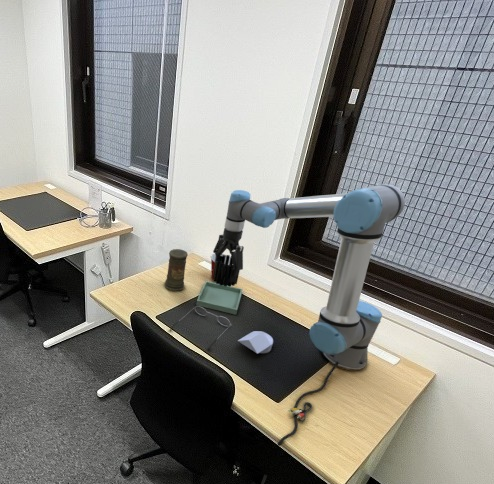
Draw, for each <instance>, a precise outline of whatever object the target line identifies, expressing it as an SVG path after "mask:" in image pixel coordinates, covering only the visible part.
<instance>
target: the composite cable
mask: <svg viewBox="0 0 494 484" xmlns="http://www.w3.org/2000/svg"><path fill="white" fill-rule="evenodd" d="M307 406H308V408H307ZM312 408H313V405H312V403H311V402H308V401H306V402H305V403H303V409H302V408H298V407H297V408H294V407H293V408H290V409H289V410H288V412H291V414H292V417H293V418H294V415H293V414H295V415H296V417H297V421H299V422H300V423H304V422H305V421H306V416H307V415H306V414H307V413H308V412H309V411H311V410H312ZM303 417H304V418H303Z"/></svg>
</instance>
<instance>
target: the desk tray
mask: <svg viewBox="0 0 494 484" xmlns="http://www.w3.org/2000/svg"><path fill="white" fill-rule="evenodd" d="M243 290H244V289H243V288H239V287H235V286H232V285H231V286H224V285H222V286H221V285H219V284H216V282H214V281H213V282H212V281H208V280H205V282H204V283H203V286H202V287H201V290H200V292H199V294H198V297H197V298H196V303H195V306H200V307H203V308H205V309H211V310H214V311H218V312H223V313H227V314H231V315H237V314H238V309H239V305H240V303H241V302H240V301H241V299H242V294H243Z"/></svg>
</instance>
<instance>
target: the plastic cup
mask: <svg viewBox="0 0 494 484" xmlns="http://www.w3.org/2000/svg"><path fill="white" fill-rule="evenodd" d="M223 255H226V256H227V255H228V254H225V253H222V255H220V256H223ZM215 258H216V255H215V253H211V255H210V260H211V261H210V263H211V266H210V267H211V268H210V269H211V270H210V271H211V273H210V274H211V280H212V281H213V282H214V280H213V274H214V266H215ZM230 258H231V256H230ZM230 258H229V263H230ZM225 262H226V257H225ZM229 263H228V265H229ZM224 264H225V263H224Z"/></svg>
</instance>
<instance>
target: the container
mask: <svg viewBox="0 0 494 484" xmlns="http://www.w3.org/2000/svg"><path fill="white" fill-rule="evenodd" d="M168 255H169V259H168V266H167V267H168V268H167V274H166V279H165V283H164V287H165V288H166V289H167V290H169V291H171V292H180V291H182V290H184V288H185V272H186V264H187V259H188V252H187V251H186V250H183V249H181V248H173V249H171V250H169V253H168Z"/></svg>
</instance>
